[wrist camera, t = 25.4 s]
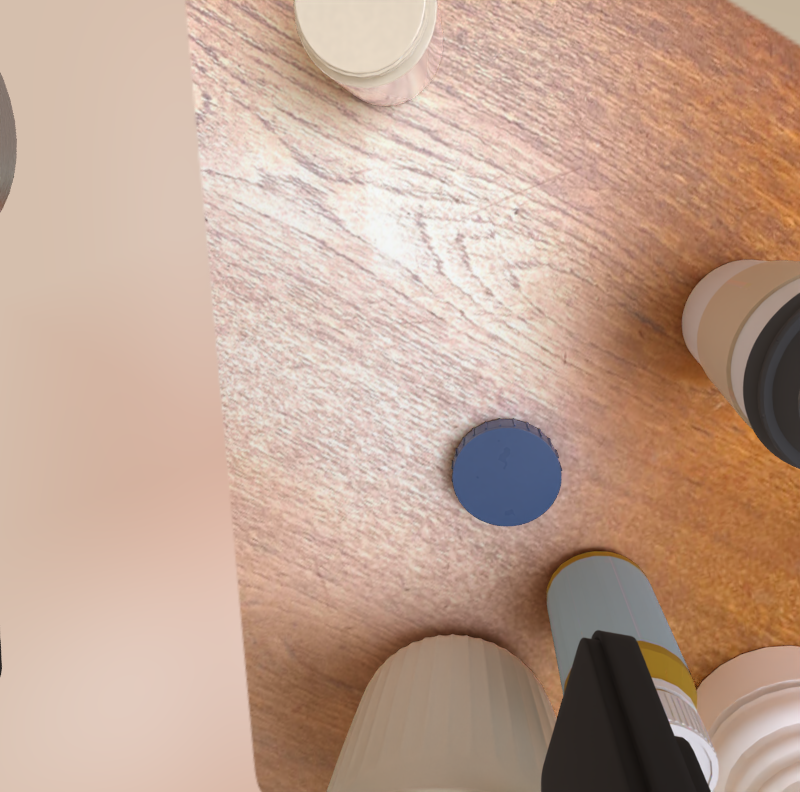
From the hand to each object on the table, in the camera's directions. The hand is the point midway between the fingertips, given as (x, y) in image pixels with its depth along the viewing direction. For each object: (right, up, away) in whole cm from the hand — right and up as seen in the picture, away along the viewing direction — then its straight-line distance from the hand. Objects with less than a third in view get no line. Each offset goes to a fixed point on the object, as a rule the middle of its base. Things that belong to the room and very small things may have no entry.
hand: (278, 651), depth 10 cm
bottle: (+16, -9, +36) cm, 40 cm away
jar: (+1, +24, +26) cm, 35 cm away
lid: (+9, -1, +32) cm, 33 cm away
